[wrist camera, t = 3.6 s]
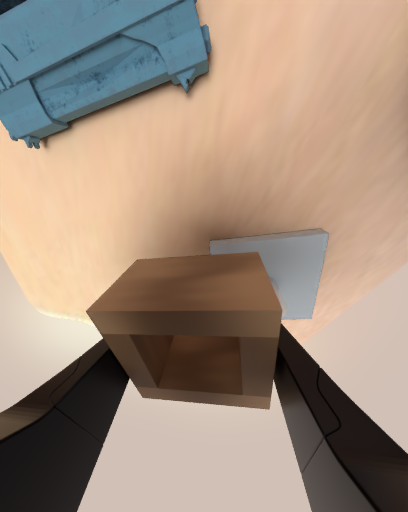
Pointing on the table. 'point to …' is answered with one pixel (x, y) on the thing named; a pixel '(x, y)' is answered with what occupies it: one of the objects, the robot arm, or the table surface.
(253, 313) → the collar
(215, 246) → the peg base
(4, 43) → the toy gun
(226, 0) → the table surface
